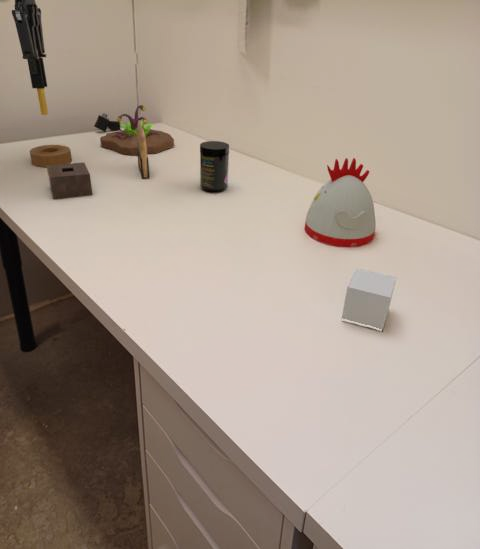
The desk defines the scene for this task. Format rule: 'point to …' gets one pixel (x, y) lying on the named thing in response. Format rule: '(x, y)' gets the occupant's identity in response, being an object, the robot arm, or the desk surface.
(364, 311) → the light grey cube
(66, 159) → the tape roll
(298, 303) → the desk surface
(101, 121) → the lighter
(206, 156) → the supplement container
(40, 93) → the pencil
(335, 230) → the kitchen timer
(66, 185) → the block
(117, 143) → the plant
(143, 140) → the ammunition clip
